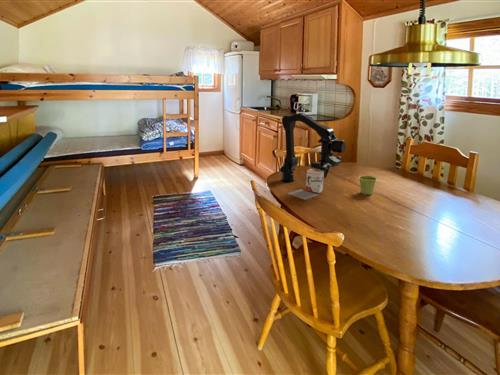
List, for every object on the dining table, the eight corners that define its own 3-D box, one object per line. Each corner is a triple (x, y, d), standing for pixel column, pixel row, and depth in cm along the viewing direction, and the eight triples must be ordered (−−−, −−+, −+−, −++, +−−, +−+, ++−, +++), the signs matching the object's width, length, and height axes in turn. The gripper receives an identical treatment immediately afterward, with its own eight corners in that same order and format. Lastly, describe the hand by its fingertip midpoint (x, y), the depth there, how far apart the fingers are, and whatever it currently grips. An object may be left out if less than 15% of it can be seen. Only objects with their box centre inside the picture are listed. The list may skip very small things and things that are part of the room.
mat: (287, 193, 200) (287, 193, 200) (301, 189, 207) (301, 189, 207) (304, 199, 191) (304, 199, 191) (318, 195, 197) (318, 195, 197)
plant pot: (353, 192, 201) (355, 177, 198) (364, 189, 206) (365, 174, 204) (368, 197, 194) (369, 181, 191) (379, 193, 199) (380, 178, 196)
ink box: (305, 190, 204) (306, 170, 201) (308, 188, 208) (309, 168, 205) (320, 193, 200) (321, 172, 197) (322, 190, 204) (324, 170, 201)
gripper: (326, 155, 191) (325, 184, 196) (348, 150, 202) (346, 177, 207) (310, 152, 200) (309, 179, 204) (332, 147, 211) (330, 173, 215)
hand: (324, 177), depth 208 cm, fingers closed
